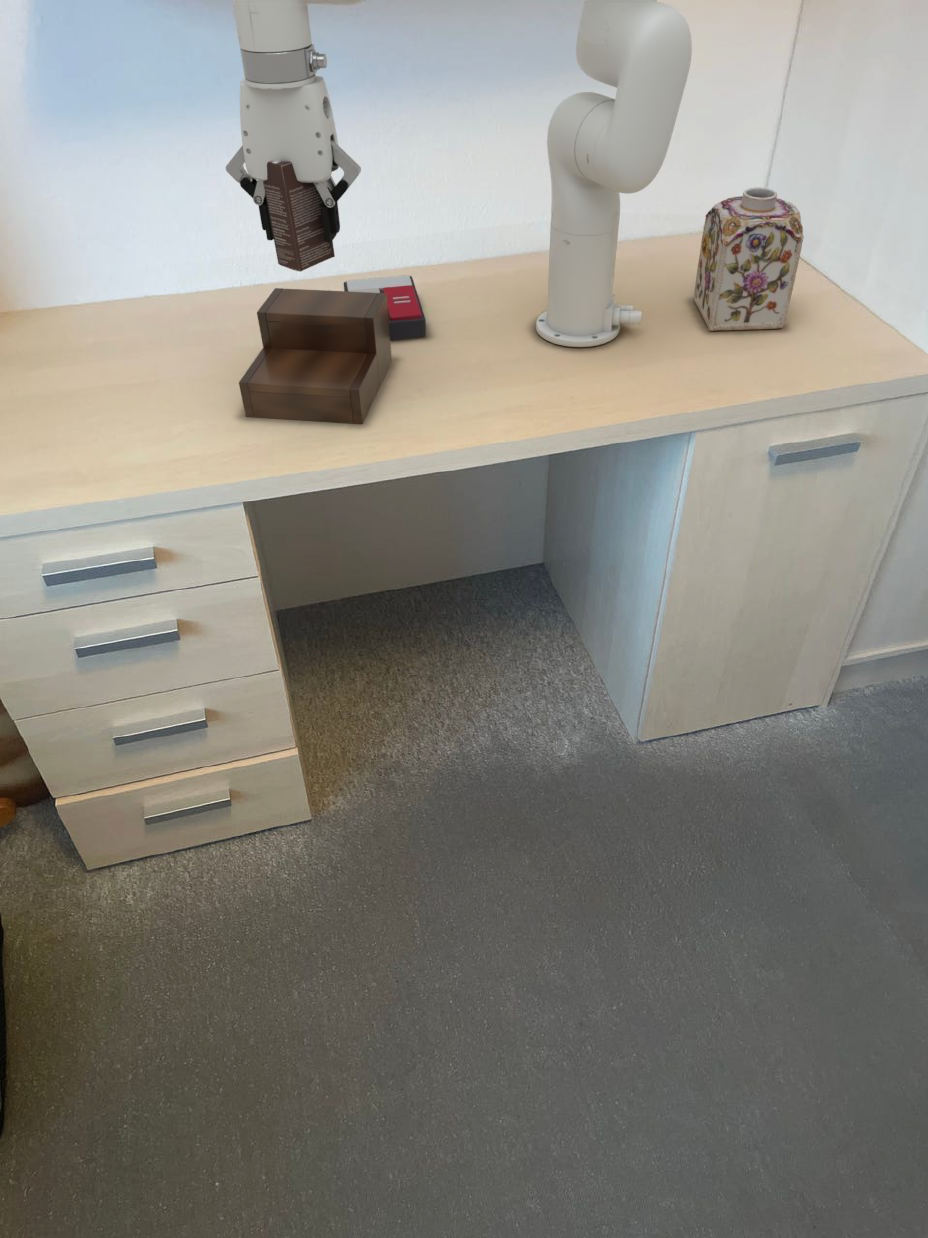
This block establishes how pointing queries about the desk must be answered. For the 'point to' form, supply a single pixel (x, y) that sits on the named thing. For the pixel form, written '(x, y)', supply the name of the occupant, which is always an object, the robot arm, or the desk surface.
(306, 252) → the box
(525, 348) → the desk surface
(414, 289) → the calculator
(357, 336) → the step shelf
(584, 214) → the robot arm
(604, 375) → the desk surface
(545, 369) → the desk surface
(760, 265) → the decorative jar
